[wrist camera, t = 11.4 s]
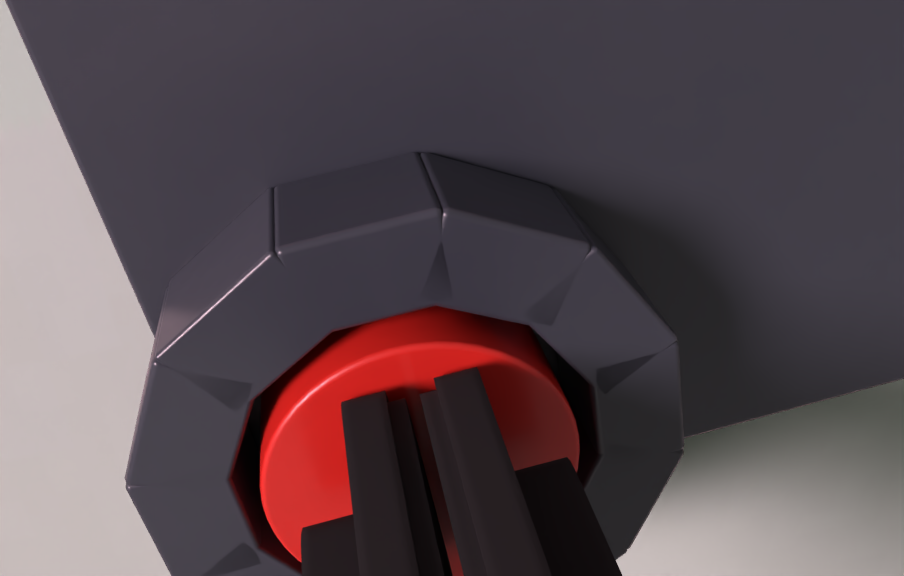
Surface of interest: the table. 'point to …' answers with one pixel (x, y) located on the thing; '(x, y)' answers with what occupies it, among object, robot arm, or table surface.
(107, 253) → the table surface
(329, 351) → the button
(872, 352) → the button block
